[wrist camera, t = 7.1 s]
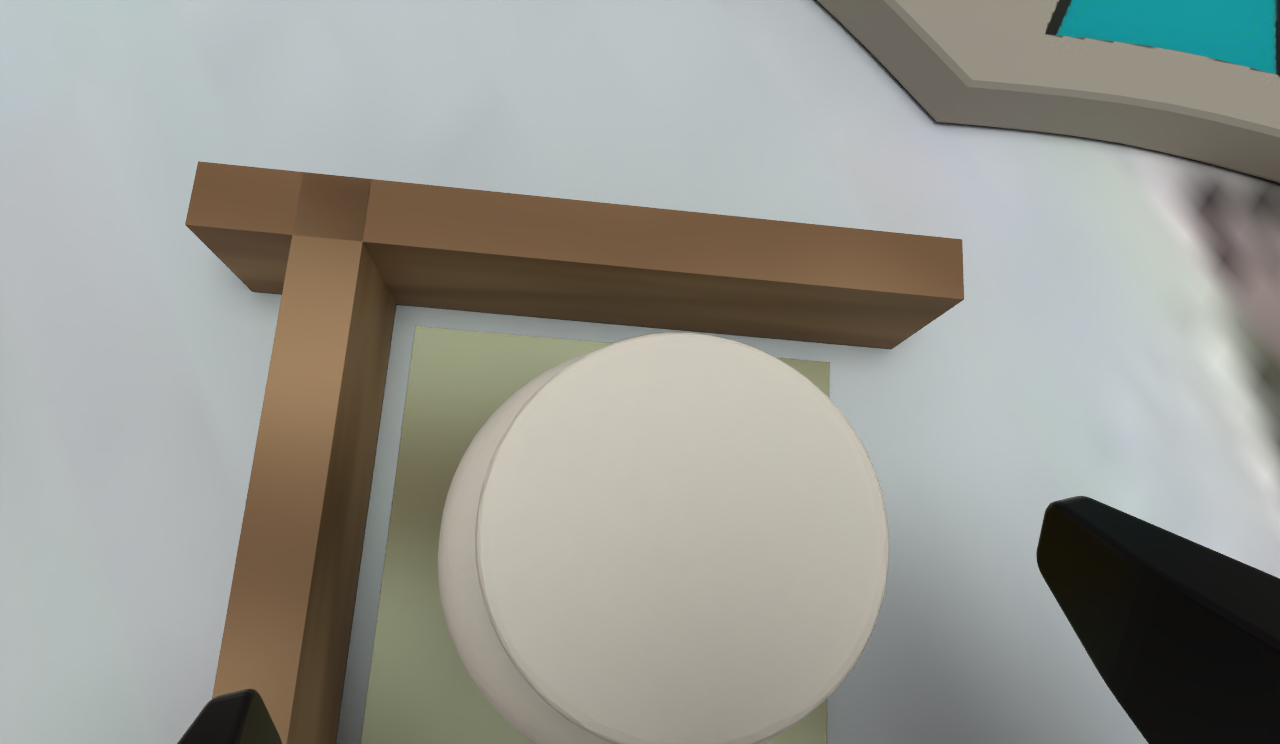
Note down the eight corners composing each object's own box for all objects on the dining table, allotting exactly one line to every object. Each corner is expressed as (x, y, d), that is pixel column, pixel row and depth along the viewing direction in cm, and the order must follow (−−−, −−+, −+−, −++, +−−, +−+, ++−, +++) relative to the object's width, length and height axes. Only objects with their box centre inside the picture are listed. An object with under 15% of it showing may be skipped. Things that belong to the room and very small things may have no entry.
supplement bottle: (766, 466, 18) (999, 339, 9) (715, 734, 17) (928, 920, 7) (517, 405, 18) (485, 207, 9) (445, 671, 17) (312, 783, 7)
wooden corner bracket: (897, 951, 17) (988, 1045, 13) (136, 929, 15) (19, 1026, 12) (890, 298, 20) (962, 239, 16) (261, 238, 19) (198, 161, 15)
